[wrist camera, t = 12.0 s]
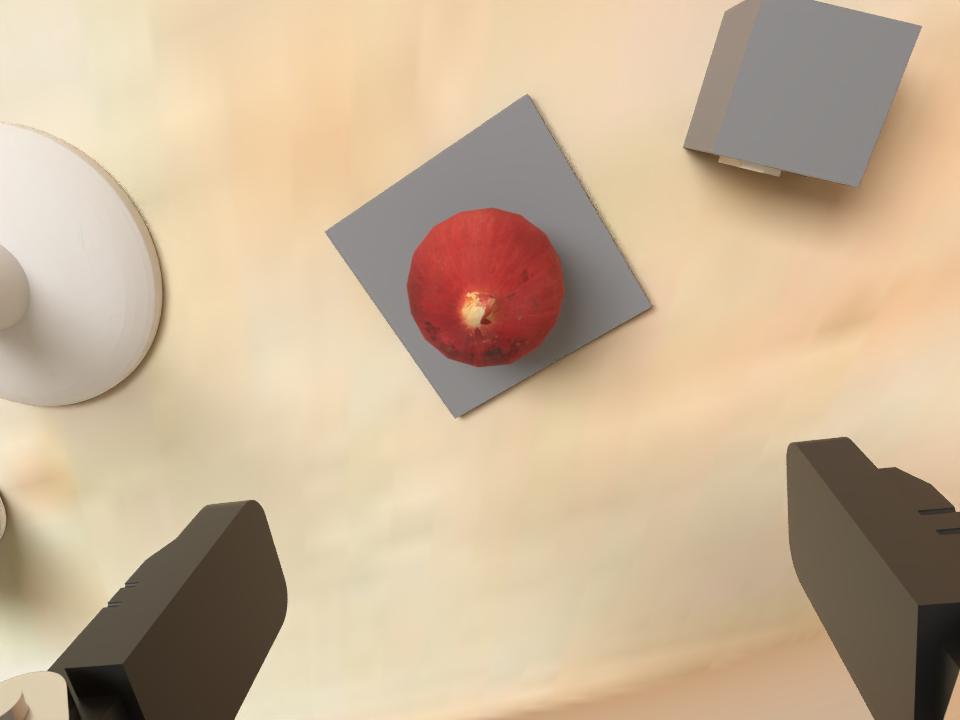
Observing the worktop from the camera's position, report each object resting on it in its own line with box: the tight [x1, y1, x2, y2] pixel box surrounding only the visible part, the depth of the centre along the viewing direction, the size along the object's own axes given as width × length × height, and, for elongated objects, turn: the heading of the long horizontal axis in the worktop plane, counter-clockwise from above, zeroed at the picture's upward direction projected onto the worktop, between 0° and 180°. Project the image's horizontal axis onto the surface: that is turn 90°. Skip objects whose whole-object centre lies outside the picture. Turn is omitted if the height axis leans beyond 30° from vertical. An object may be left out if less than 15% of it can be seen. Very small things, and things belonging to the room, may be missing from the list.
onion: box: [406, 208, 564, 367], centre depth 26 cm, size 6×6×8 cm
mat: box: [325, 94, 652, 419], centre depth 30 cm, size 10×10×1 cm
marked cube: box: [683, 0, 922, 187], centre depth 25 cm, size 5×5×5 cm
